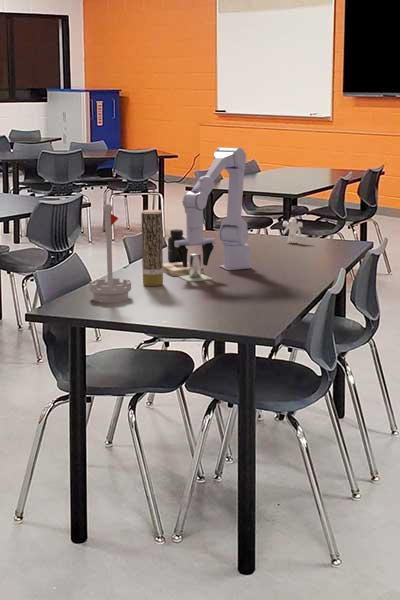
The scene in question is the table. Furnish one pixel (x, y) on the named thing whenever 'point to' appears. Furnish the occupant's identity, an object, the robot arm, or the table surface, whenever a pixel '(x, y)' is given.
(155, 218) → the paper tube
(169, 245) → the supplement bottle
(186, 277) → the sage mat
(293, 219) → the hat wearing toy figure
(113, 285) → the flag stand
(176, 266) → the plate
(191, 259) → the clear glass cup
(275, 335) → the table surface
